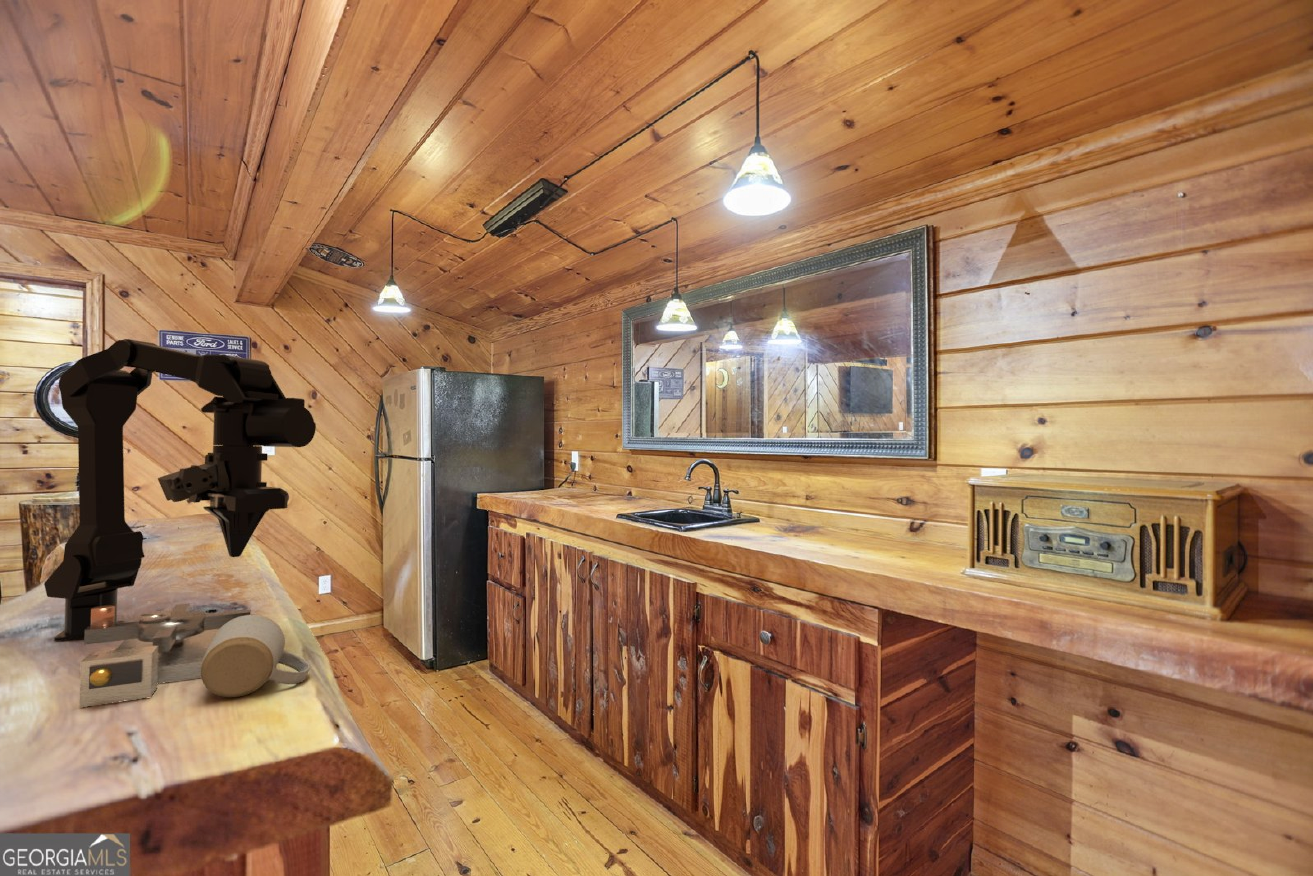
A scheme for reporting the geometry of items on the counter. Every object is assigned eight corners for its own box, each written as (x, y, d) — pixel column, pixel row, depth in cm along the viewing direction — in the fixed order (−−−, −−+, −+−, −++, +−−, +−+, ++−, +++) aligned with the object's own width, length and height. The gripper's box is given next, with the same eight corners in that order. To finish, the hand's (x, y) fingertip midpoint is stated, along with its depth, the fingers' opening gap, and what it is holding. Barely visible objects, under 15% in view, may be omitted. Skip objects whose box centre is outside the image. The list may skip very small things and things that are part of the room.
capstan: (253, 609, 91) (254, 581, 91) (246, 641, 77) (247, 608, 77) (104, 625, 82) (104, 594, 82) (64, 665, 68) (65, 627, 68)
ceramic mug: (195, 707, 66) (198, 636, 66) (210, 680, 73) (213, 616, 73) (307, 691, 71) (310, 626, 71) (310, 668, 78) (313, 608, 78)
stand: (132, 646, 84) (133, 610, 84) (236, 634, 90) (236, 601, 90) (68, 714, 63) (70, 666, 64) (208, 693, 69) (209, 649, 69)
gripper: (145, 444, 84) (142, 556, 84) (191, 446, 73) (187, 575, 73) (237, 445, 93) (234, 546, 93) (290, 447, 82) (287, 562, 81)
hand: (234, 556), depth 85 cm, fingers closed
